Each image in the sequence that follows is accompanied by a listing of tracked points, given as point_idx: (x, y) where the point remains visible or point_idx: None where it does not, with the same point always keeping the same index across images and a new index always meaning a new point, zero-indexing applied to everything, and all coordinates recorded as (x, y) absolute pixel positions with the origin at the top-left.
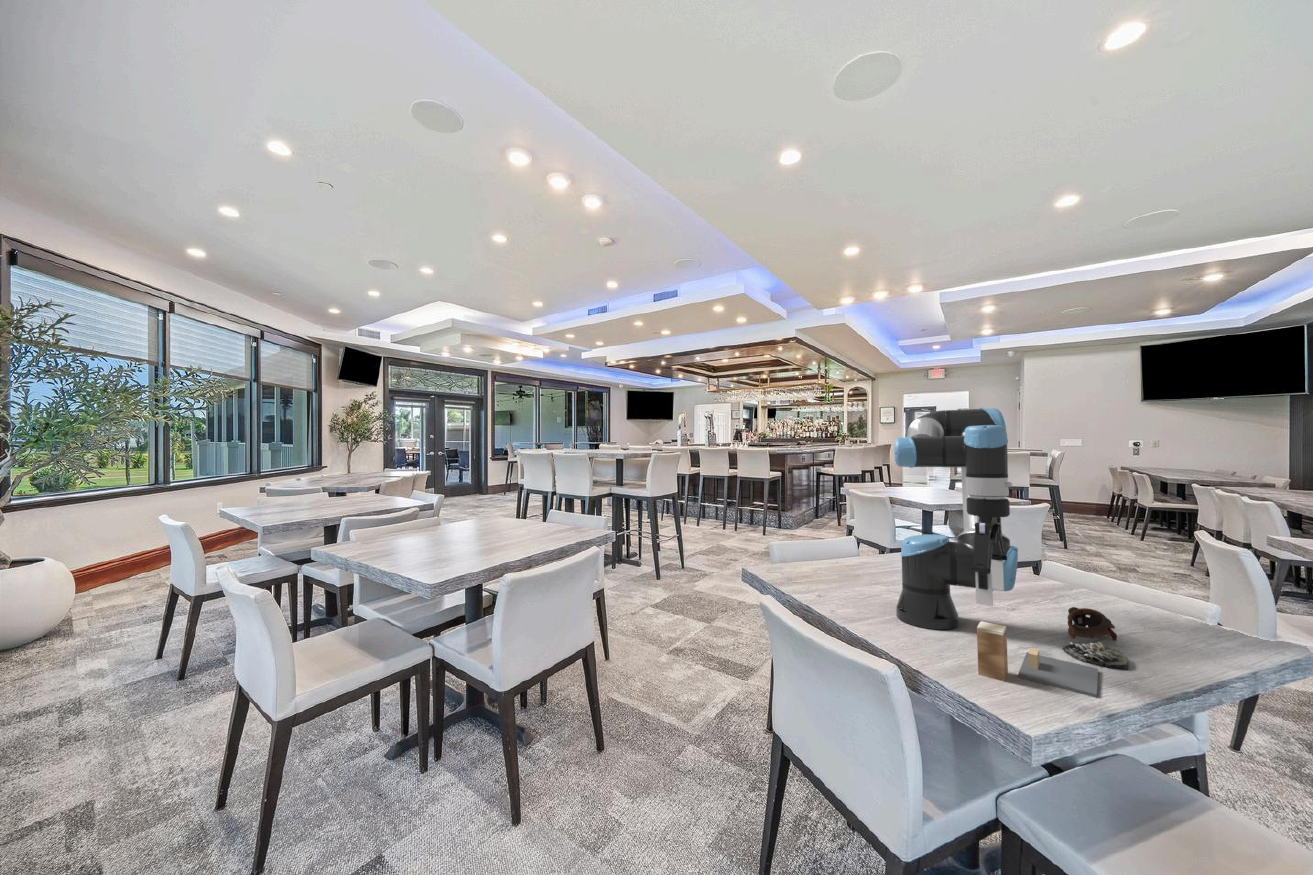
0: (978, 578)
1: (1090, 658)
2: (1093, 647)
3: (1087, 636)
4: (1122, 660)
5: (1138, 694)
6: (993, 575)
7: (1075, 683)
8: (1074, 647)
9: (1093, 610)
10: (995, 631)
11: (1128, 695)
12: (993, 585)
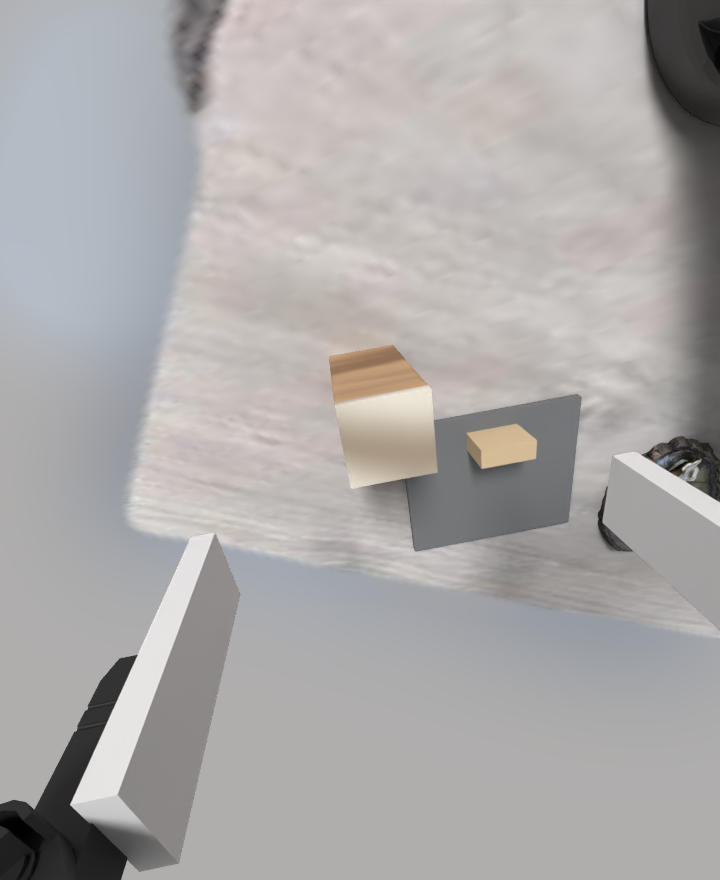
0: (60, 763)
1: None
2: None
3: None
4: None
5: (487, 578)
6: (690, 542)
7: (442, 517)
8: (686, 462)
9: None
10: (347, 467)
11: (469, 571)
12: (627, 492)
